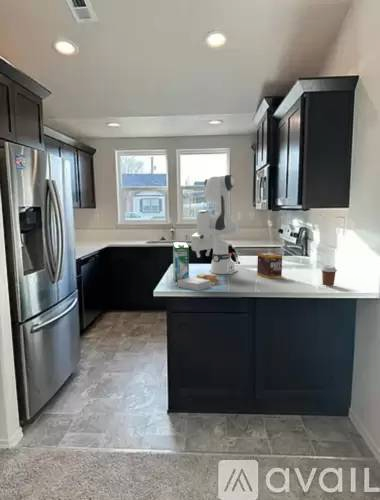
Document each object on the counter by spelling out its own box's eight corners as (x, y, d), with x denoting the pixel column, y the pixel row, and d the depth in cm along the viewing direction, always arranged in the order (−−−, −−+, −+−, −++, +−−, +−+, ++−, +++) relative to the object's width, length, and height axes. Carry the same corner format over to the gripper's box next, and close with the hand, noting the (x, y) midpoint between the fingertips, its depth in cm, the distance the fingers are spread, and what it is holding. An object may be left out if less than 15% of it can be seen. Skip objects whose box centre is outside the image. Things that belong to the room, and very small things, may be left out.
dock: (190, 283, 228) (190, 276, 227) (210, 286, 218) (210, 280, 217) (177, 286, 218) (177, 280, 217) (198, 290, 208) (198, 284, 207)
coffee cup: (338, 285, 219) (339, 266, 218) (331, 288, 213) (332, 268, 211) (324, 283, 226) (325, 264, 224) (317, 285, 219) (318, 266, 218)
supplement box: (269, 278, 240) (269, 256, 237) (256, 274, 254) (257, 253, 252) (282, 277, 243) (282, 255, 241) (269, 273, 258) (269, 252, 255)
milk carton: (175, 281, 232) (175, 244, 228) (173, 278, 241) (173, 242, 237) (188, 280, 234) (188, 243, 230) (186, 278, 242) (186, 242, 239)
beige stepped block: (201, 280, 237) (201, 273, 236) (219, 283, 227) (219, 276, 226) (195, 282, 232) (195, 274, 231) (213, 285, 222) (213, 277, 221)
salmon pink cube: (211, 279, 230) (211, 273, 229) (216, 280, 227) (216, 274, 227) (207, 280, 227) (207, 274, 226) (212, 281, 224) (212, 275, 224)
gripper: (208, 234, 237) (208, 254, 239) (189, 236, 222) (189, 257, 223) (216, 234, 234) (216, 255, 235) (197, 236, 218) (197, 258, 219)
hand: (203, 256), depth 229 cm, fingers open, 8 cm apart
